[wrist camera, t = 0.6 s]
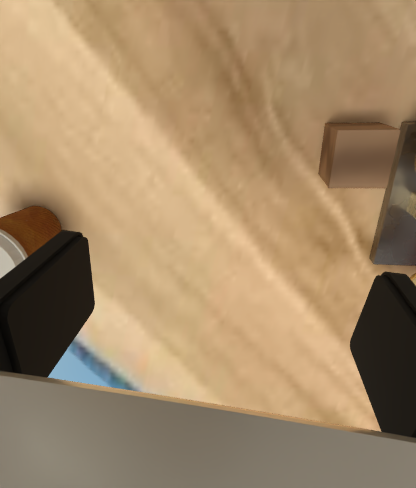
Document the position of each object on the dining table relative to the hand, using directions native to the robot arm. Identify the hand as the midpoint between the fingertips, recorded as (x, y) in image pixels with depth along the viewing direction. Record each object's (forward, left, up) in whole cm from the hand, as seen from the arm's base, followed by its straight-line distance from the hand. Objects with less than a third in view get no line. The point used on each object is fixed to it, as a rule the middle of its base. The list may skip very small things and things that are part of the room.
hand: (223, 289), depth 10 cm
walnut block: (+2, +13, -32) cm, 35 cm away
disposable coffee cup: (+13, -30, -32) cm, 46 cm away
